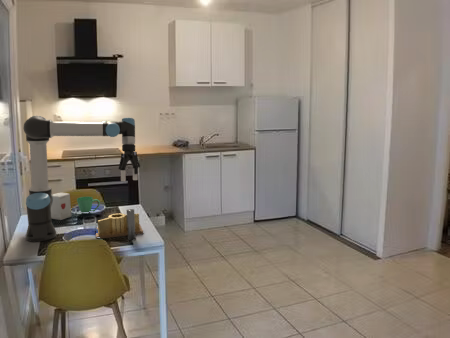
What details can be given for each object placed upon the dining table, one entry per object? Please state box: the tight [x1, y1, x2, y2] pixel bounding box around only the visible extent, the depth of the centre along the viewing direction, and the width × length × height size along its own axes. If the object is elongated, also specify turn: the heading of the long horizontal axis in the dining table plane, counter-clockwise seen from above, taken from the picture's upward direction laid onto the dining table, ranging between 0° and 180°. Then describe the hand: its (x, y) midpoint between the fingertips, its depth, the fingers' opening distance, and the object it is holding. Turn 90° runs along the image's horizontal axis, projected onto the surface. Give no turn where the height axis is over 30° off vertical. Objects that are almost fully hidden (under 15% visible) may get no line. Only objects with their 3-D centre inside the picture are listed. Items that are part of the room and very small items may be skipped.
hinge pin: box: [126, 208, 137, 241], centre depth 223 cm, size 4×4×16 cm
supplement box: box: [51, 192, 72, 221], centre depth 263 cm, size 9×9×15 cm
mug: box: [76, 196, 101, 213], centre depth 271 cm, size 15×10×10 cm
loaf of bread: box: [95, 212, 144, 239], centre depth 235 cm, size 25×15×10 cm, turn 109°
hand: (129, 180), depth 244 cm, fingers open, 13 cm apart
